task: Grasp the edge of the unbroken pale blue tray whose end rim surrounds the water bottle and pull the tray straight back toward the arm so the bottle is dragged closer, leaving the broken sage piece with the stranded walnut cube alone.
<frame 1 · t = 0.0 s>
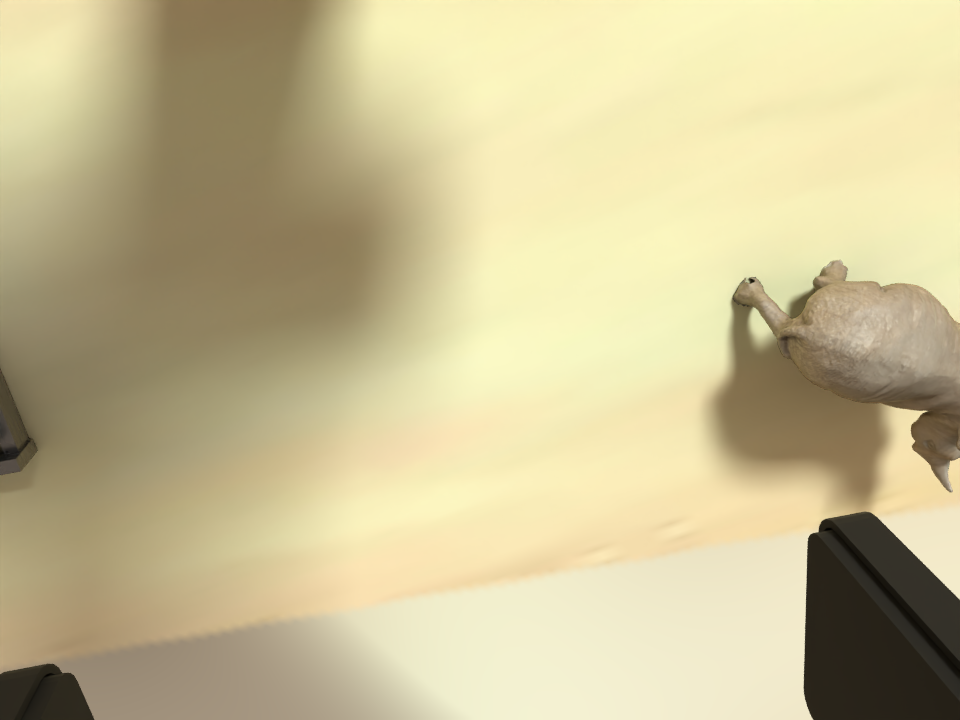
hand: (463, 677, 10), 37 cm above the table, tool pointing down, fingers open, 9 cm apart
rhinoceros figurine: (847, 333, 51), on the table
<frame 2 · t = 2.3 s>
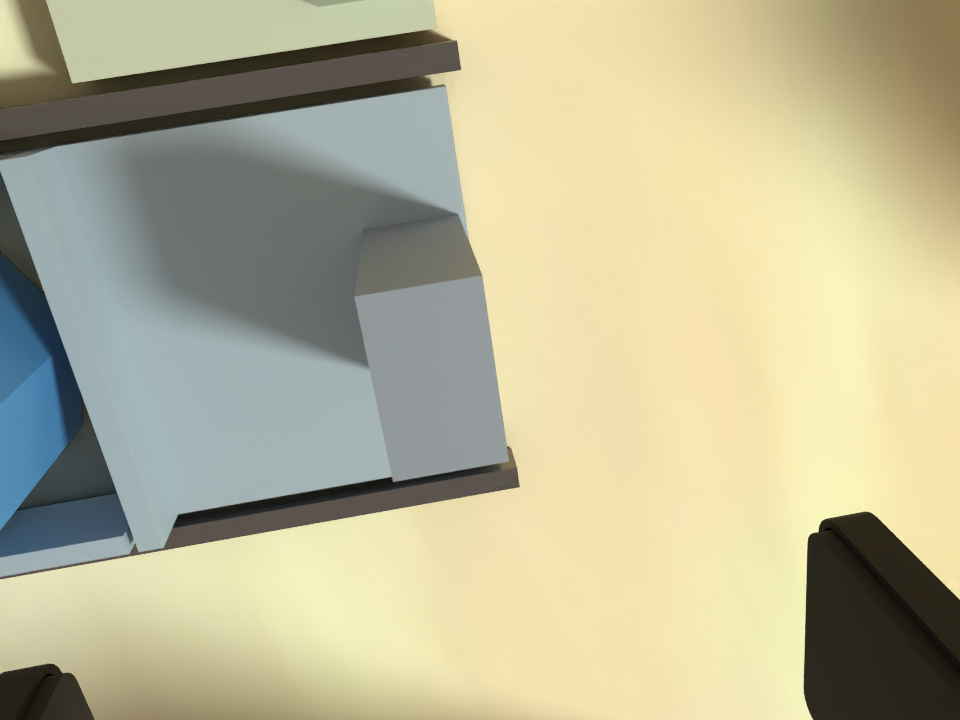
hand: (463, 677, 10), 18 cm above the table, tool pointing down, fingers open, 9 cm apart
pale blue tray: (69, 388, 23), point 4 cm above the table, slide at 0.0 cm
lane rails: (60, 170, 25), on the table
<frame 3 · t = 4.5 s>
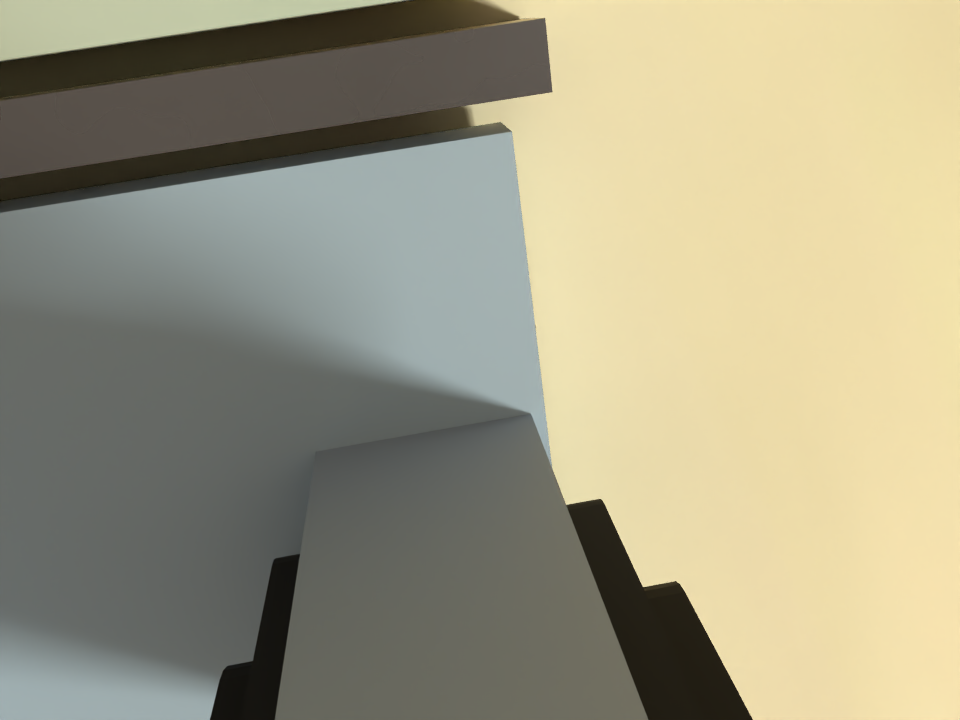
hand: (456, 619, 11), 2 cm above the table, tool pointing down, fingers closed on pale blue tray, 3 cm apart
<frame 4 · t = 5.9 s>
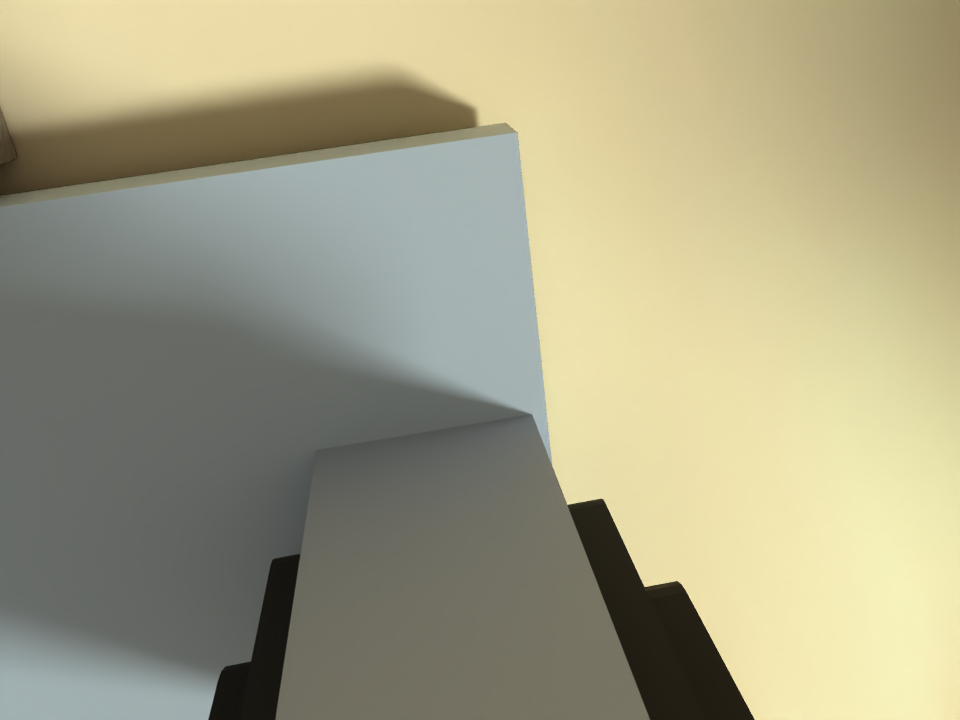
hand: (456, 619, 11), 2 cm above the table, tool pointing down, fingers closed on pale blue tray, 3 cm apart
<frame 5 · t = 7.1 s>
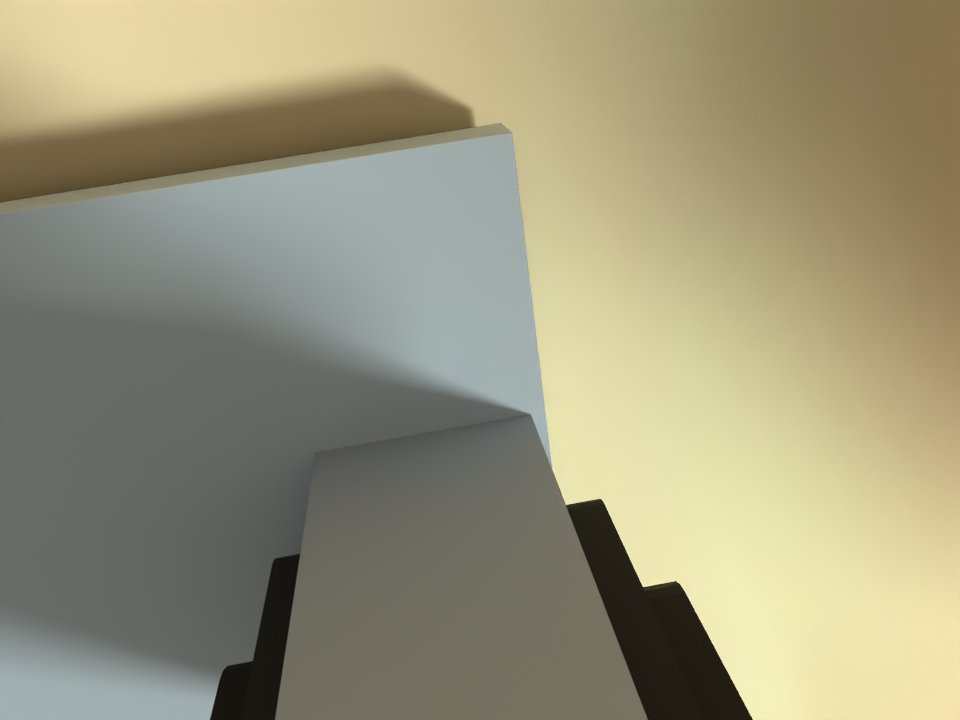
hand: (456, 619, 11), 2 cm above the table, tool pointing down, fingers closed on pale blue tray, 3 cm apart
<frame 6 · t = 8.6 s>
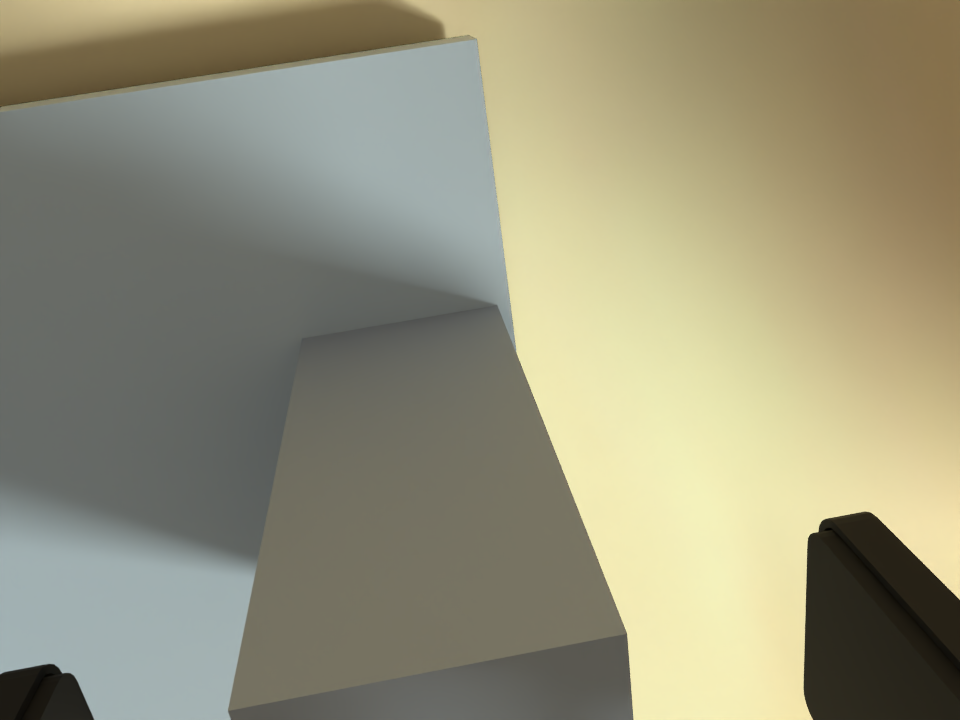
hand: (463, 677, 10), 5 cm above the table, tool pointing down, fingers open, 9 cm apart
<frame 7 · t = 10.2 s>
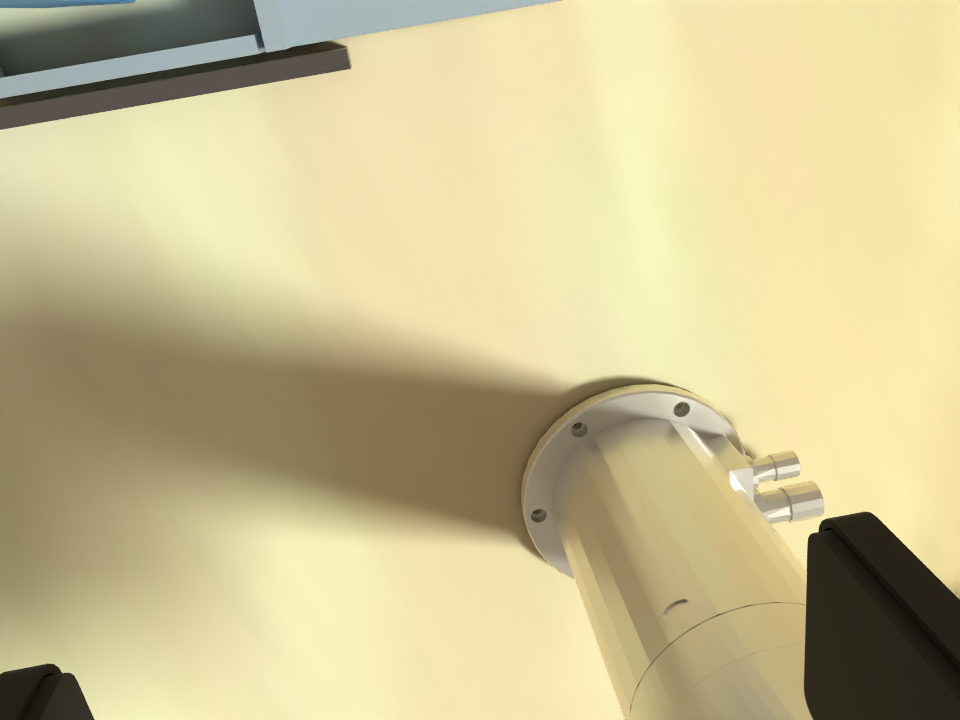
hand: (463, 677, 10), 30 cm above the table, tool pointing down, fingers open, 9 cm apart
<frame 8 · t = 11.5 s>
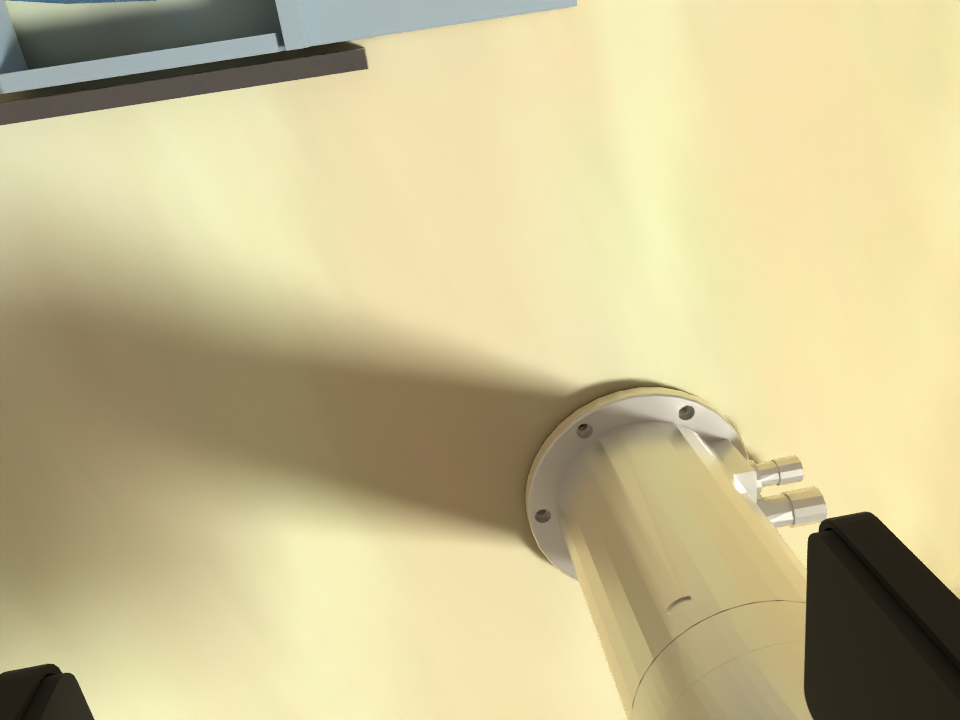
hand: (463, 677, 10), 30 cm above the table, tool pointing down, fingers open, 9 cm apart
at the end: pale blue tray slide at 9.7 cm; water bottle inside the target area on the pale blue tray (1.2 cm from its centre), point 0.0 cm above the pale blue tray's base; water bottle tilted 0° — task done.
